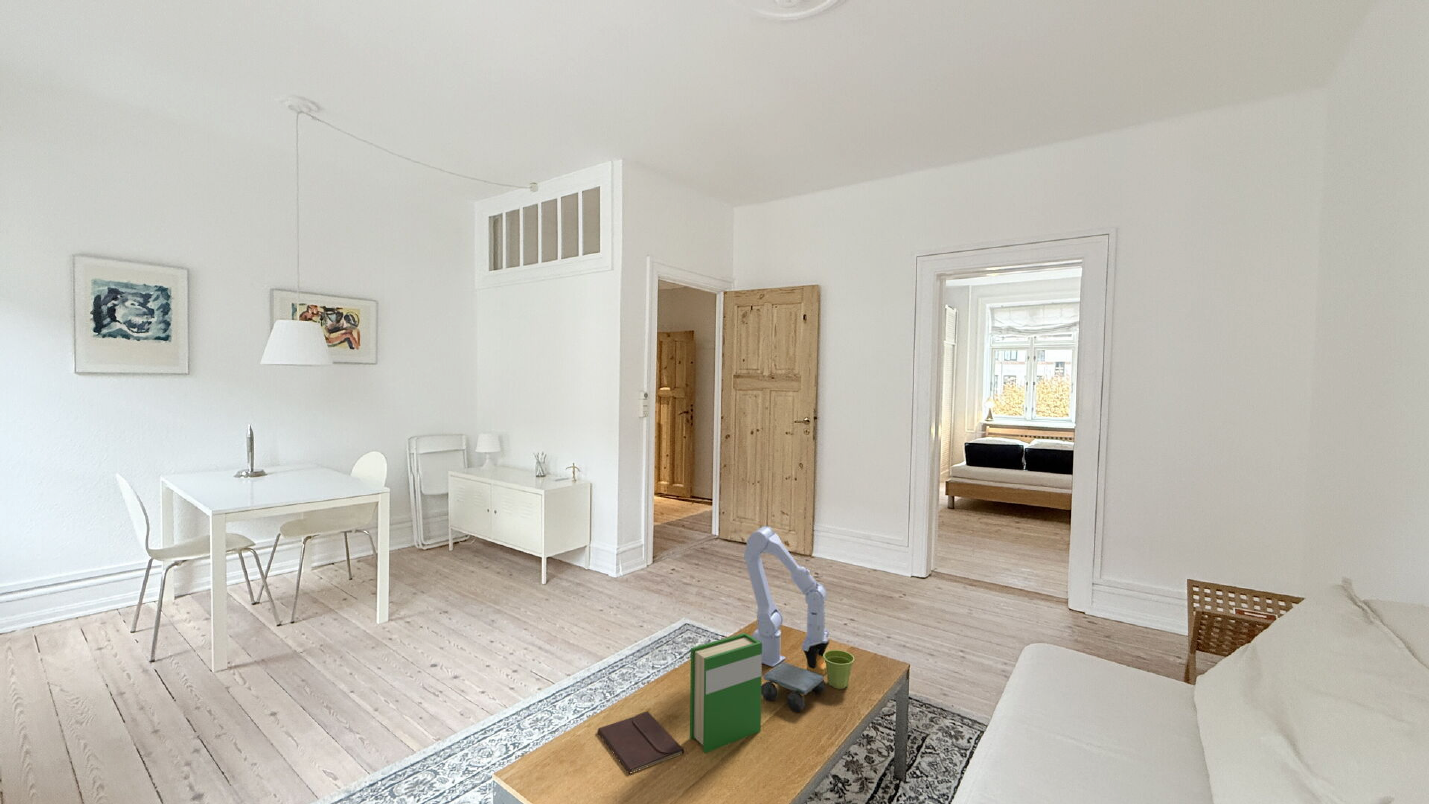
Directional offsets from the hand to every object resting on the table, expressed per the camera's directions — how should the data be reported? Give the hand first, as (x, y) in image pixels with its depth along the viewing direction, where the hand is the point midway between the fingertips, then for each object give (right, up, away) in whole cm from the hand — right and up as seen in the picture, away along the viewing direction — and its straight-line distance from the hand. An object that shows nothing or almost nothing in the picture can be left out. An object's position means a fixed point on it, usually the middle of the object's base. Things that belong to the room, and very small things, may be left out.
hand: (815, 664), depth 193 cm
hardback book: (-30, -3, -36) cm, 47 cm away
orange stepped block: (+1, -2, -1) cm, 2 cm away
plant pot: (+6, -2, -9) cm, 11 cm away
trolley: (-9, -2, -17) cm, 19 cm away
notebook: (-52, -3, -40) cm, 66 cm away
